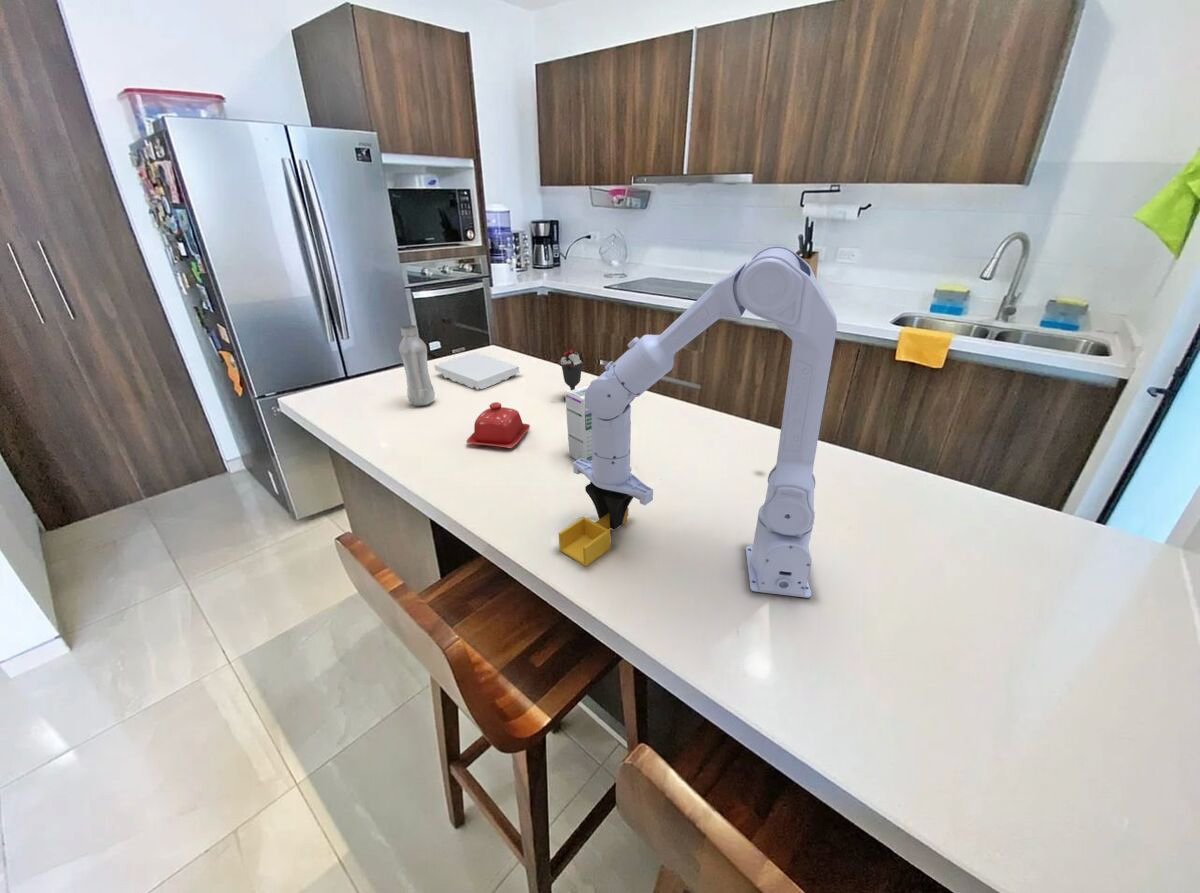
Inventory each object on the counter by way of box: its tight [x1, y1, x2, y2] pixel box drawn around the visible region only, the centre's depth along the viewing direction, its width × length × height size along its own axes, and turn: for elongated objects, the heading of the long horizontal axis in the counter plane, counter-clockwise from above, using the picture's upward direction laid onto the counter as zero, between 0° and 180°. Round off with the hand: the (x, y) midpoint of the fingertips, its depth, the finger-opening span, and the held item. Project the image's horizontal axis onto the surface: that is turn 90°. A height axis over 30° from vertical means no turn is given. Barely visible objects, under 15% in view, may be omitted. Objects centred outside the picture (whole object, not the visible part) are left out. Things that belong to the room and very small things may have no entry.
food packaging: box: [434, 351, 520, 391], centre depth 147 cm, size 15×3×20 cm
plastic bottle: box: [398, 324, 436, 406], centre depth 125 cm, size 6×7×20 cm
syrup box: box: [564, 384, 592, 461], centre depth 100 cm, size 6×6×14 cm
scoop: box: [557, 507, 629, 567], centre depth 78 cm, size 13×6×3 cm, turn 139°
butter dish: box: [466, 401, 531, 448], centre depth 109 cm, size 12×12×8 cm
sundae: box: [558, 344, 585, 402], centre depth 128 cm, size 7×7×15 cm
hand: (611, 523), depth 81 cm, fingers closed on scoop, 2 cm apart
